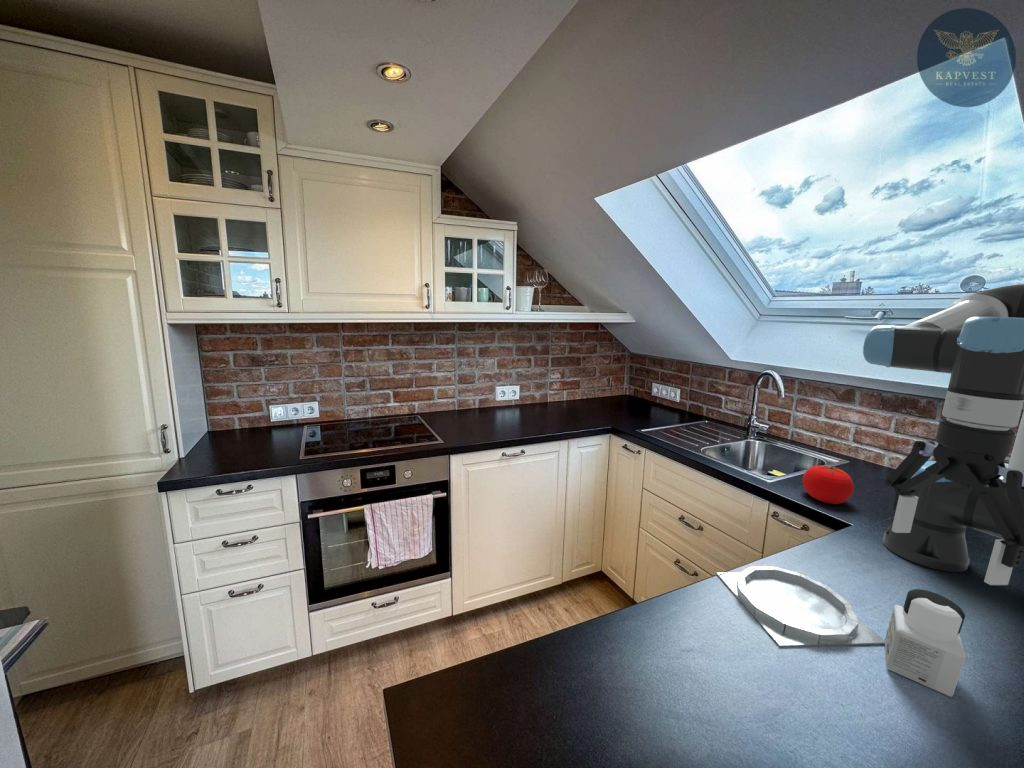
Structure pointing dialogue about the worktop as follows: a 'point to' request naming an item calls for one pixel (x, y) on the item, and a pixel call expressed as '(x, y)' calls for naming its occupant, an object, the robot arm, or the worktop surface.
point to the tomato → (828, 484)
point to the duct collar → (798, 608)
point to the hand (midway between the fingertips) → (943, 555)
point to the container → (926, 641)
